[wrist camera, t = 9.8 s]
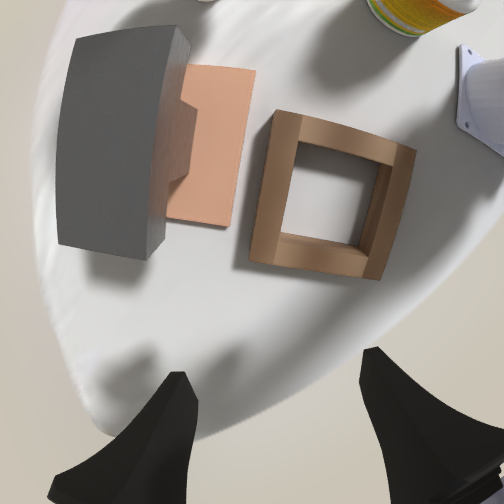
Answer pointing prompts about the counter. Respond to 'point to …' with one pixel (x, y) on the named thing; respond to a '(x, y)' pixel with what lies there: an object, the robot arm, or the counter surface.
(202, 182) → the terracotta coaster
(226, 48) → the counter surface
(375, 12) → the supplement bottle
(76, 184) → the dark grey block
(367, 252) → the walnut holder
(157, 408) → the robot arm
